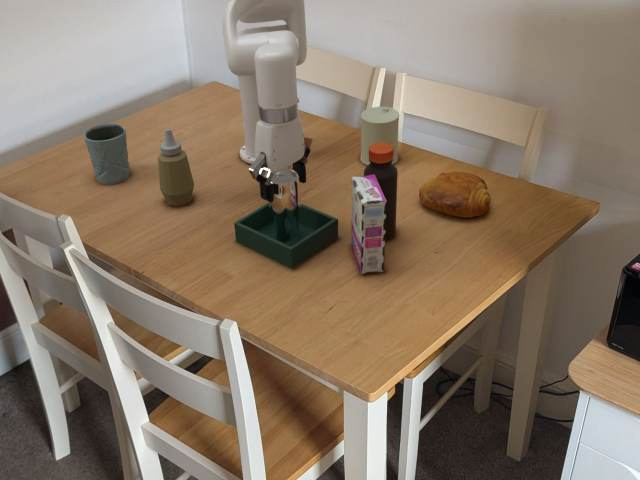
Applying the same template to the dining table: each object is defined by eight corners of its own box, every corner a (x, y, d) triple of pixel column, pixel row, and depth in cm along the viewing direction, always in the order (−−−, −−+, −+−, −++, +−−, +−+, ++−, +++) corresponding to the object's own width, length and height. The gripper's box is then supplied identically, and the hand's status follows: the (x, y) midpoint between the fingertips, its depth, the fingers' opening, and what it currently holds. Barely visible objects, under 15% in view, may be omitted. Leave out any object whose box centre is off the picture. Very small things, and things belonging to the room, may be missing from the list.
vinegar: (387, 245, 167) (389, 158, 155) (358, 237, 170) (358, 152, 158) (400, 229, 171) (404, 143, 159) (371, 222, 175) (372, 137, 162)
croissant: (468, 236, 171) (475, 205, 165) (407, 206, 178) (412, 176, 173) (502, 205, 179) (510, 176, 173) (442, 178, 186) (448, 149, 180)
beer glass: (306, 232, 173) (304, 169, 164) (297, 249, 168) (294, 186, 159) (276, 228, 175) (271, 166, 166) (266, 245, 170) (261, 183, 161)
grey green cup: (86, 183, 199) (75, 138, 192) (106, 164, 207) (97, 121, 199) (121, 187, 196) (112, 142, 189) (140, 168, 203) (132, 124, 196)
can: (404, 154, 198) (406, 108, 191) (388, 170, 192) (389, 123, 185) (370, 147, 202) (370, 102, 195) (353, 163, 196) (353, 117, 189)
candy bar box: (385, 272, 159) (387, 200, 149) (361, 275, 159) (361, 203, 149) (374, 242, 168) (375, 172, 158) (350, 245, 168) (350, 175, 158)
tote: (282, 213, 180) (280, 195, 177) (338, 238, 171) (338, 218, 168) (235, 241, 173) (233, 222, 170) (292, 269, 163) (291, 249, 160)
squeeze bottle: (191, 209, 185) (180, 138, 174) (158, 208, 187) (145, 137, 175) (200, 192, 191) (190, 121, 180) (167, 191, 193) (155, 121, 182)
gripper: (294, 92, 160) (298, 169, 171) (232, 122, 151) (241, 201, 162) (322, 100, 156) (325, 179, 166) (261, 132, 147) (267, 213, 157)
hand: (283, 190), depth 164 cm, fingers open, 9 cm apart
